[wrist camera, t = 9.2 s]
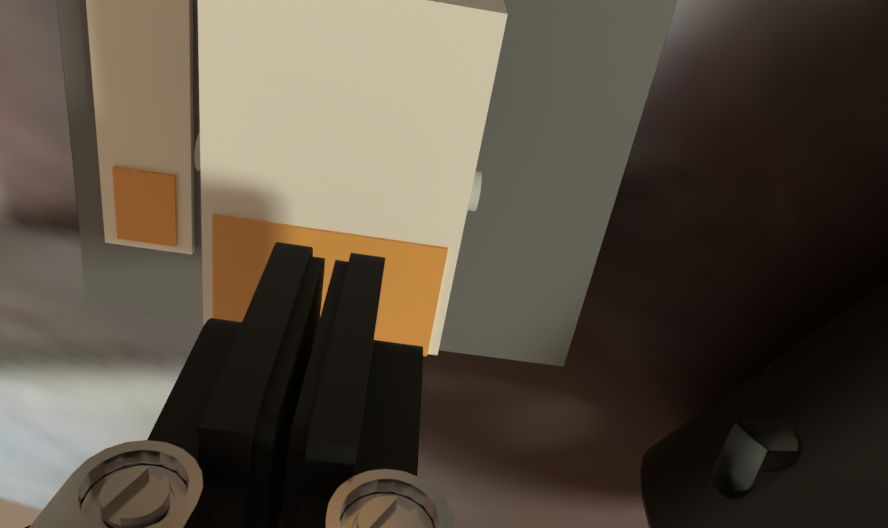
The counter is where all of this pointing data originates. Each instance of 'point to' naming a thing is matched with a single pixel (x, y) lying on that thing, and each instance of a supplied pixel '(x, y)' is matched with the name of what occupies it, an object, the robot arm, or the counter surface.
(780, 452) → the muzzle brake
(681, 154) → the counter surface
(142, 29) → the switch unit
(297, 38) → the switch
